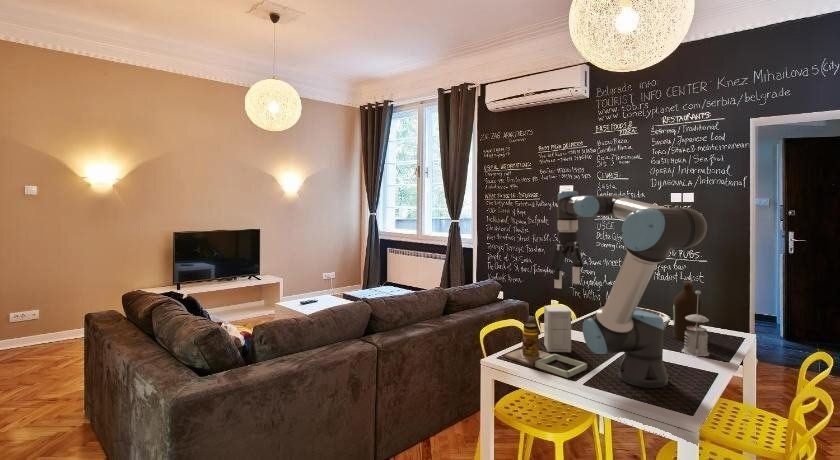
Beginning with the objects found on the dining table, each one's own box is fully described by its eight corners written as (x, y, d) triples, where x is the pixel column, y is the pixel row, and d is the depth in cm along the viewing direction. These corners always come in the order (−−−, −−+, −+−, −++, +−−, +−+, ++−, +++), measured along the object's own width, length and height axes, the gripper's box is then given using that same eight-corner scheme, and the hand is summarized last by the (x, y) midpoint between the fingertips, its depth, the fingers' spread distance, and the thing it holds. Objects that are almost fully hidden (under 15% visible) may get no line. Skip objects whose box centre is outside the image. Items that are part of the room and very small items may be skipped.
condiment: (522, 358, 175) (523, 327, 174) (518, 350, 183) (519, 321, 182) (542, 358, 174) (542, 327, 174) (537, 350, 183) (537, 321, 182)
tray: (587, 368, 166) (587, 363, 166) (567, 378, 158) (567, 372, 158) (554, 358, 177) (555, 353, 177) (534, 366, 169) (534, 361, 169)
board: (554, 357, 178) (554, 355, 178) (532, 366, 169) (532, 364, 169) (527, 349, 188) (527, 346, 188) (504, 357, 179) (504, 354, 179)
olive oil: (703, 338, 199) (705, 281, 197) (695, 344, 192) (697, 285, 190) (676, 333, 207) (679, 278, 205) (668, 338, 200) (670, 281, 198)
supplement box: (566, 345, 193) (567, 305, 191) (571, 352, 183) (572, 311, 182) (543, 344, 194) (543, 305, 192) (547, 352, 184) (547, 310, 183)
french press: (708, 350, 184) (710, 289, 182) (712, 360, 174) (715, 295, 172) (680, 347, 189) (682, 287, 187) (682, 356, 178) (685, 292, 176)
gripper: (574, 229, 188) (574, 280, 190) (541, 232, 171) (541, 288, 173) (592, 229, 183) (591, 282, 184) (559, 233, 166) (559, 291, 167)
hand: (567, 285), depth 179 cm, fingers open, 13 cm apart
